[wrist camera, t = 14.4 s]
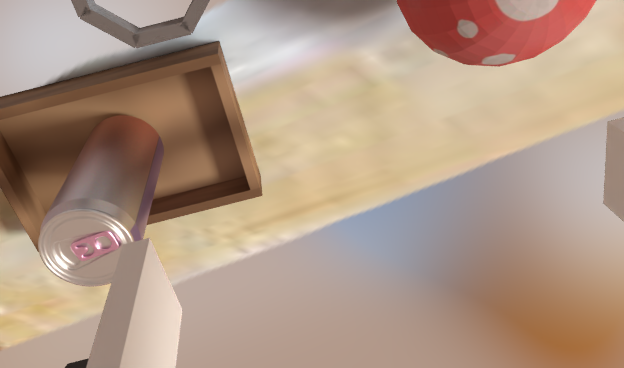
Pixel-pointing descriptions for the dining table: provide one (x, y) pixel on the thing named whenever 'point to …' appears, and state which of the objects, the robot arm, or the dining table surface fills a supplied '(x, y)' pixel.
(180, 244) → the dining table surface
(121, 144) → the beverage can
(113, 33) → the collar
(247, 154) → the crate
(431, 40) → the decorative mushroom
